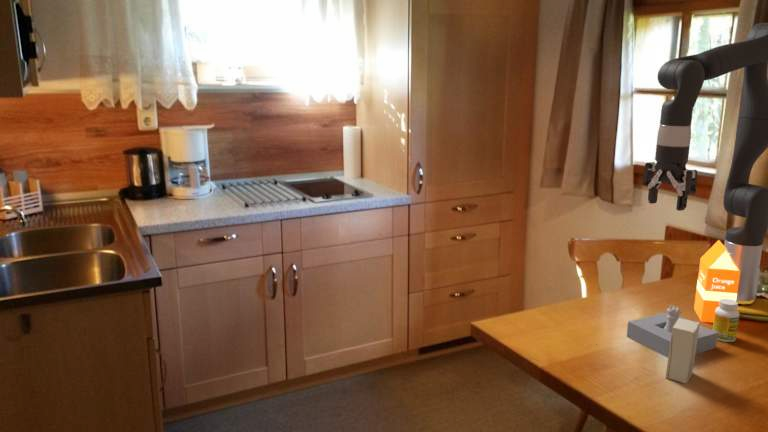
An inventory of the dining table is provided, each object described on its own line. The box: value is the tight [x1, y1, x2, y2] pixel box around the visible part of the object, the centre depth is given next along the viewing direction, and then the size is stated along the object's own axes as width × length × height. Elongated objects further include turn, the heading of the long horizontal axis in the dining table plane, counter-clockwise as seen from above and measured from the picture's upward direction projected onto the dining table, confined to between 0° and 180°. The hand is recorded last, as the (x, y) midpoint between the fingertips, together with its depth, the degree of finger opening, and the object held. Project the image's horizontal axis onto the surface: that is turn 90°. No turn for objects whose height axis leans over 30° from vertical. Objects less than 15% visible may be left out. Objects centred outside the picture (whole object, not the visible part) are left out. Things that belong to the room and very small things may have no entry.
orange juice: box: [693, 239, 740, 323], centre depth 166 cm, size 8×9×20 cm
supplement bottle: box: [711, 299, 740, 343], centre depth 154 cm, size 5×5×10 cm
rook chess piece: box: [664, 305, 682, 333], centre depth 152 cm, size 4×4×8 cm
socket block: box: [626, 311, 718, 358], centre depth 153 cm, size 14×14×4 cm
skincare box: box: [665, 317, 701, 385], centre depth 136 cm, size 6×4×12 cm
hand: (666, 206), depth 161 cm, fingers open, 8 cm apart
